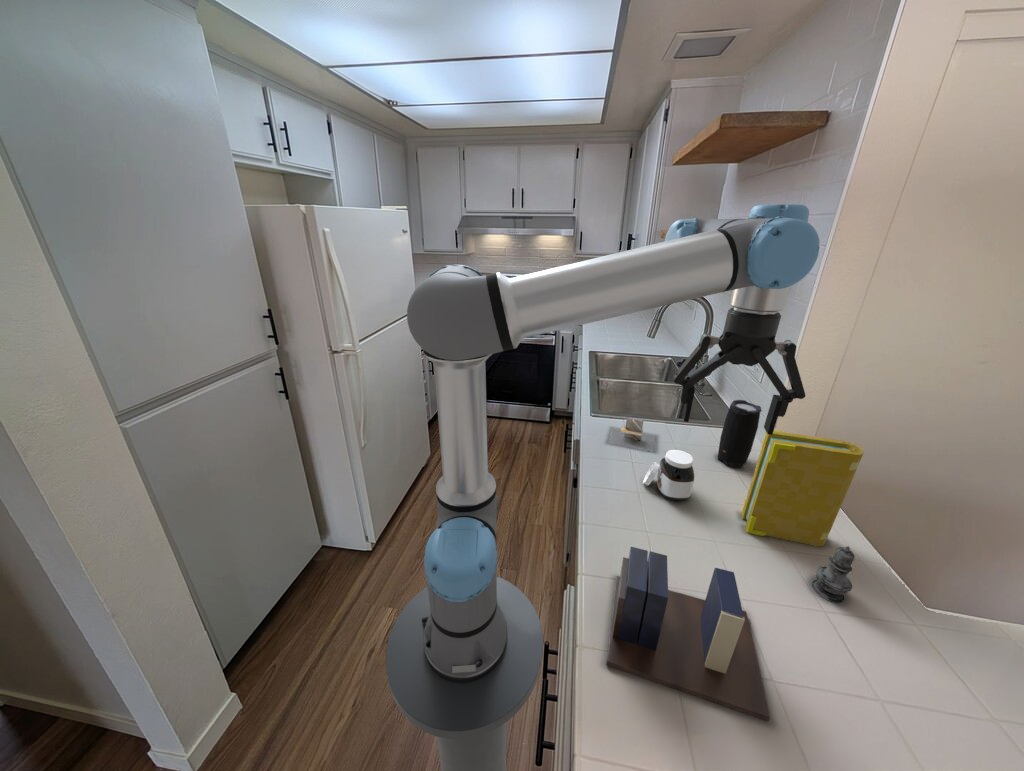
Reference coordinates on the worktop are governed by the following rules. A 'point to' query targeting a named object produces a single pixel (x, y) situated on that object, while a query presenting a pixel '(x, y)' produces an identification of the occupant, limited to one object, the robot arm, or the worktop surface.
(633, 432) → the architectural model
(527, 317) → the robot arm
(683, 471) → the spread jar
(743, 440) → the portable speaker
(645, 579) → the book rack
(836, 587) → the chess piece
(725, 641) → the navy book
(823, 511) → the book
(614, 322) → the worktop surface
